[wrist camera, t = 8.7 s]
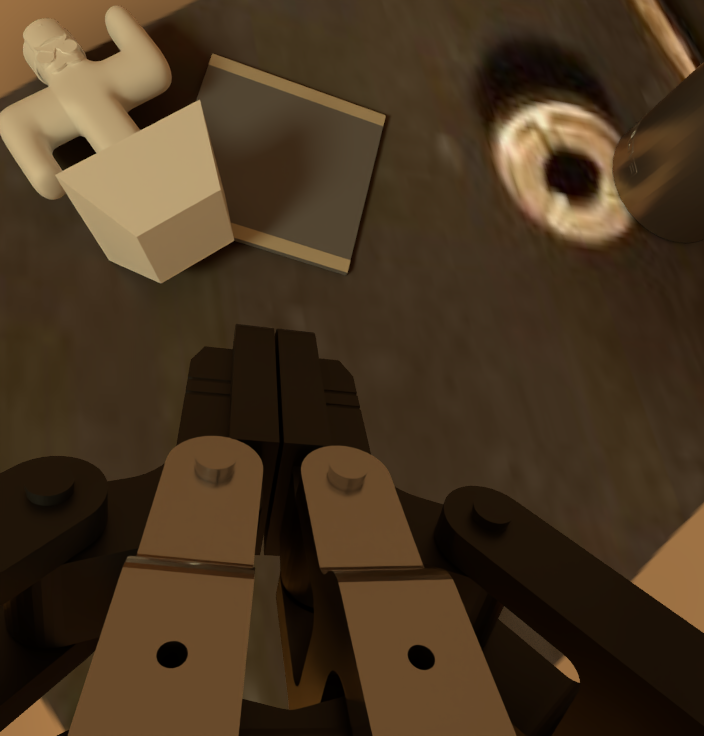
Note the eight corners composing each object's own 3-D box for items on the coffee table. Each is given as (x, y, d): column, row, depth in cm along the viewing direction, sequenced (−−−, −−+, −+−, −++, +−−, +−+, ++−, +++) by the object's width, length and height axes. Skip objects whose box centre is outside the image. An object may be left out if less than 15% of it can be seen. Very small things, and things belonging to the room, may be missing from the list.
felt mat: (384, 119, 41) (385, 115, 41) (345, 275, 38) (347, 272, 37) (212, 58, 39) (212, 53, 39) (156, 216, 36) (156, 212, 36)
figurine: (124, 322, 33) (-4, 129, 38) (277, 231, 36) (140, 57, 40) (71, 248, 27) (-78, 22, 31) (264, 142, 29) (101, -57, 33)
